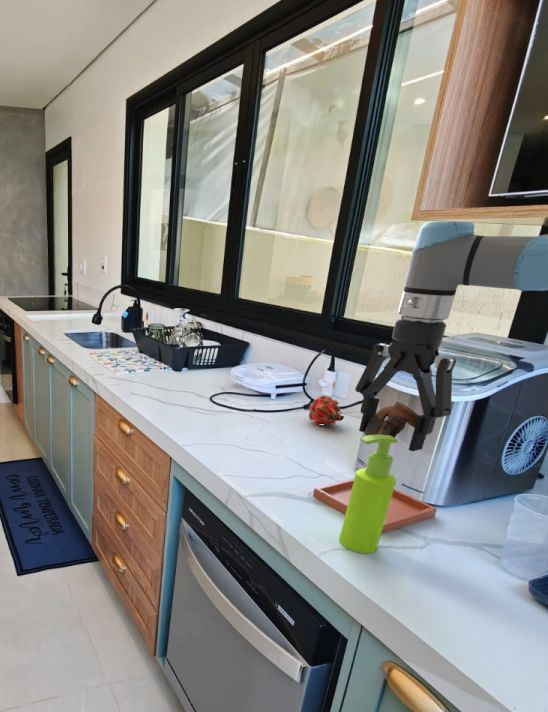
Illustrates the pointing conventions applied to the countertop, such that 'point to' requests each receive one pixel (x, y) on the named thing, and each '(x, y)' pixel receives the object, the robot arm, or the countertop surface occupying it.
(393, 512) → the tray
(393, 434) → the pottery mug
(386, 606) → the countertop surface
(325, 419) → the dragon fruit
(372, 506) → the soap dispenser
